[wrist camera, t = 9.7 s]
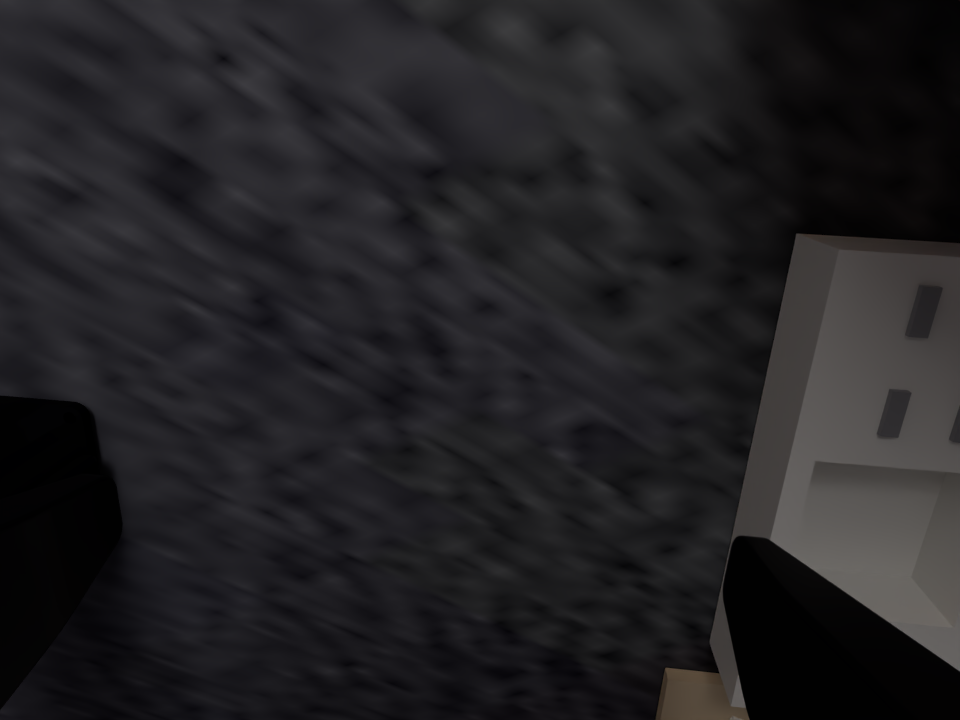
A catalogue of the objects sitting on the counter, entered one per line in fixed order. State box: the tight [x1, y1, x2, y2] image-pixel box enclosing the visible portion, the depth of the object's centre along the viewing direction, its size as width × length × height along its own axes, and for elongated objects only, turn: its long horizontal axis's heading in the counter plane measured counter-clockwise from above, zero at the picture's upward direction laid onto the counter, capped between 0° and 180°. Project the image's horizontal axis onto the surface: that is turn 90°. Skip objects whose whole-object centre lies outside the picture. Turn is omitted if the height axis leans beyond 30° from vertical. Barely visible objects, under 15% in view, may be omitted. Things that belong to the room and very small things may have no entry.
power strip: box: [709, 234, 960, 708], centre depth 20 cm, size 7×16×4 cm, turn 177°
